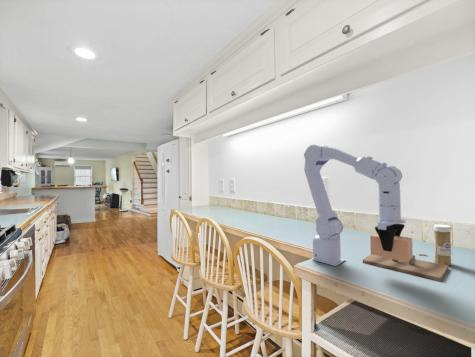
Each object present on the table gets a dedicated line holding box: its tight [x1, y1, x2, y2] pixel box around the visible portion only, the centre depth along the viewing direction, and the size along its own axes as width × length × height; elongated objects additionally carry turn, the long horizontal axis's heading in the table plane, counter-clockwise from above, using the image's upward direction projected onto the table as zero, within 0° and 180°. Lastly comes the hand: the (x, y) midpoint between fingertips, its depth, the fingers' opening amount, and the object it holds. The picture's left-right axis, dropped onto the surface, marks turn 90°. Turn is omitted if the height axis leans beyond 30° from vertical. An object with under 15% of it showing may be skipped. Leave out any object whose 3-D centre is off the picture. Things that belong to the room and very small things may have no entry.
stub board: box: [362, 253, 449, 282], centre depth 83 cm, size 22×13×4 cm, turn 41°
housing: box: [370, 232, 413, 262], centre depth 74 cm, size 10×5×6 cm, turn 41°
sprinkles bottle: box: [433, 224, 452, 267], centre depth 84 cm, size 5×5×14 cm
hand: (390, 248), depth 75 cm, fingers closed on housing, 5 cm apart
